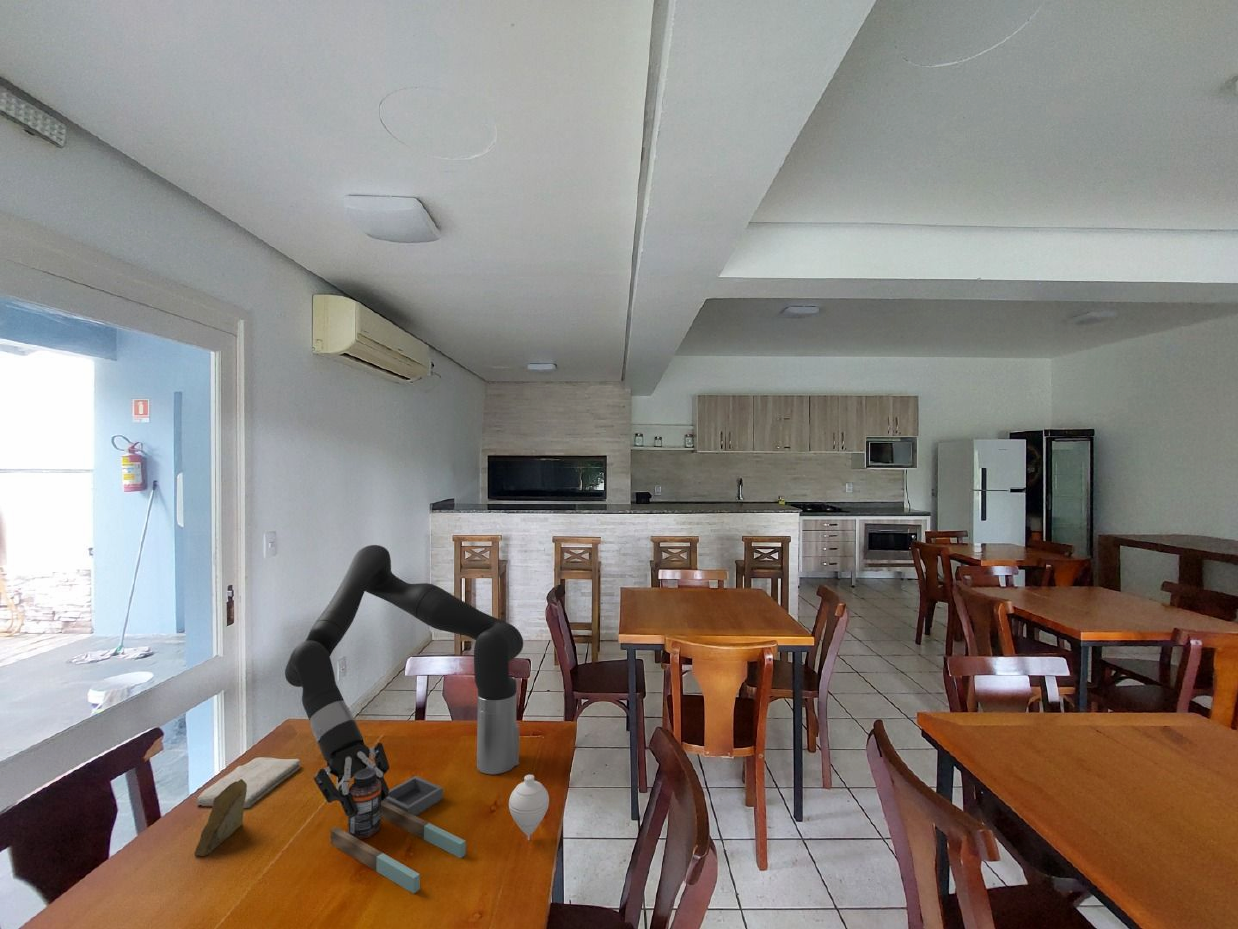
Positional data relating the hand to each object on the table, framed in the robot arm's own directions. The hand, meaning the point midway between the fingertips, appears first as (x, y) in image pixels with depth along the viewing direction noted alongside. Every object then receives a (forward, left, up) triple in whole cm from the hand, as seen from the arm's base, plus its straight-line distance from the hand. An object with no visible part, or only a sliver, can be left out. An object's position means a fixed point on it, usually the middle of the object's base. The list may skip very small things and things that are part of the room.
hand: (369, 806), depth 108 cm
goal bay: (-6, +14, -5) cm, 16 cm away
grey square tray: (-9, -6, -5) cm, 12 cm away
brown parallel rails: (-1, +3, -5) cm, 6 cm away
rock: (+25, -15, -6) cm, 29 cm away
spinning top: (-25, +18, -5) cm, 32 cm away
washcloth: (+19, -33, -6) cm, 39 cm away
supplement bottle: (+1, -2, -6) cm, 6 cm away
